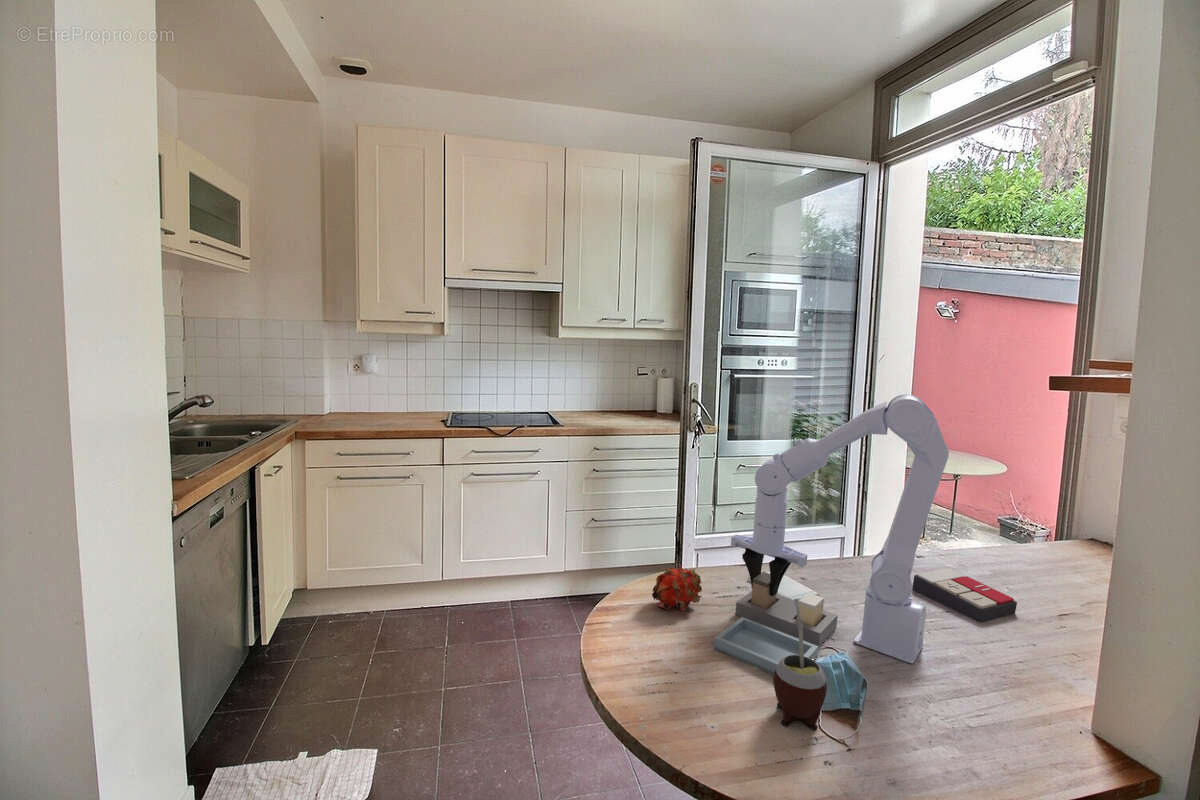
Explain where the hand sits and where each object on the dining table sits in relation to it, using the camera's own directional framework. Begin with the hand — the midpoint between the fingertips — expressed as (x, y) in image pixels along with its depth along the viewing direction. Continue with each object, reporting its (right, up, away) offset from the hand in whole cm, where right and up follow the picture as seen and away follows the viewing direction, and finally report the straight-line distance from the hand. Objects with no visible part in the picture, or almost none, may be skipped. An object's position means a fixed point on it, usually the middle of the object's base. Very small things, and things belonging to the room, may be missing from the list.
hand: (764, 591), depth 110 cm
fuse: (+7, -5, -5) cm, 10 cm away
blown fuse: (0, -3, 0) cm, 3 cm away
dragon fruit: (-17, -4, +2) cm, 17 cm away
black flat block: (+44, -6, +9) cm, 45 cm away
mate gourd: (-4, -8, -29) cm, 30 cm away
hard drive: (+7, -4, +12) cm, 14 cm away
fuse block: (+3, -5, -2) cm, 6 cm away
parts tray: (-4, -6, -13) cm, 15 cm away
